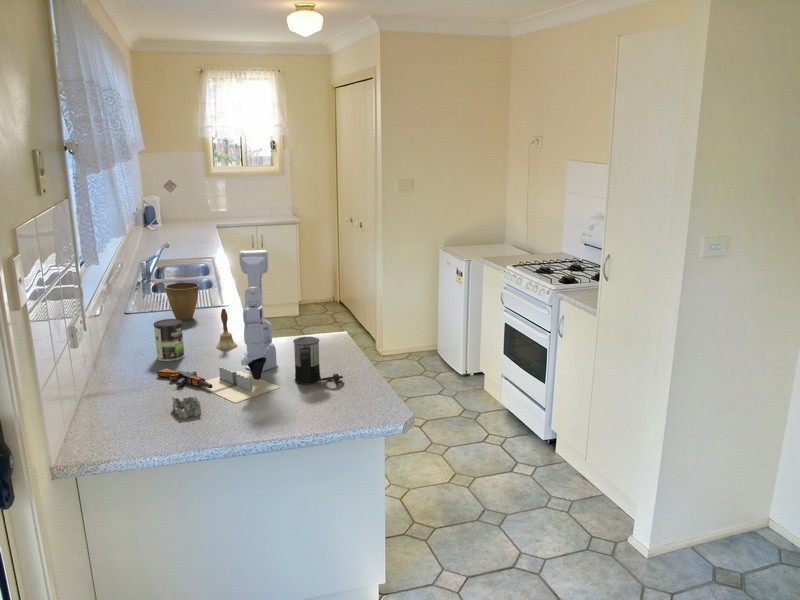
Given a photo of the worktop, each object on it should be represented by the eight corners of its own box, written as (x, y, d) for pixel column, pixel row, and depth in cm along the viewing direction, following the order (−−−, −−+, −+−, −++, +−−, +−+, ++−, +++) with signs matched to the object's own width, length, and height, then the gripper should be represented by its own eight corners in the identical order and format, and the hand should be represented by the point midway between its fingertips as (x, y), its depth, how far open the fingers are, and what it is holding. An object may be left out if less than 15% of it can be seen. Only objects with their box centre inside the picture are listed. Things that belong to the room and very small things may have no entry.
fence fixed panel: (235, 383, 228) (234, 371, 227) (232, 384, 228) (232, 372, 227) (222, 377, 234) (221, 366, 233) (220, 378, 233) (219, 367, 232)
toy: (153, 377, 235) (178, 370, 242) (196, 395, 218) (221, 386, 226) (152, 371, 234) (177, 363, 242) (195, 388, 218) (220, 379, 225)
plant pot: (183, 324, 299) (180, 290, 295) (161, 320, 306) (158, 286, 302) (208, 316, 311) (205, 284, 307) (186, 312, 318) (183, 280, 314)
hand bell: (225, 351, 263) (222, 312, 259) (212, 347, 268) (209, 309, 264) (241, 345, 270) (239, 308, 266) (228, 342, 274) (225, 305, 270)
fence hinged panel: (233, 384, 227) (232, 372, 226) (236, 383, 228) (235, 371, 227) (249, 391, 221) (249, 379, 220) (252, 390, 222) (252, 378, 221)
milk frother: (292, 377, 235) (290, 337, 232) (334, 371, 241) (333, 332, 237) (301, 391, 222) (299, 350, 219) (345, 385, 228) (344, 344, 224)
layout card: (239, 370, 241) (239, 370, 241) (279, 387, 226) (279, 386, 225) (195, 384, 228) (195, 383, 228) (235, 403, 213) (235, 402, 213)
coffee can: (190, 354, 259) (187, 320, 256) (173, 362, 250) (170, 327, 246) (168, 351, 263) (165, 317, 259) (151, 359, 253) (147, 324, 250)
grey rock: (171, 408, 210) (170, 396, 209) (195, 403, 213) (194, 392, 212) (178, 420, 201) (177, 408, 200) (203, 415, 204) (202, 403, 203)
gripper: (256, 334, 230) (258, 370, 234) (232, 346, 217) (235, 384, 221) (274, 336, 228) (276, 372, 231) (250, 348, 215) (253, 387, 218)
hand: (257, 378), depth 226 cm, fingers closed
